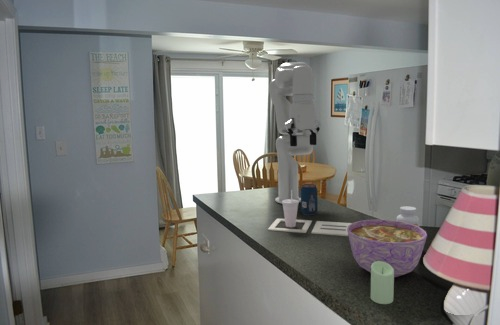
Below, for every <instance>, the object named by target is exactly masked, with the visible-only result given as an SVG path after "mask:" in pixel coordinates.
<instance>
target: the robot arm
mask: <svg viewBox="0 0 500 325" xmlns="http://www.w3.org/2000/svg"><path fill="white" fill-rule="evenodd" d="M313 82H314V74H313V68H312V67H311V66H309V64H308V63H306V62H304V61H303V62H302V61H299V62H297V61H295V62H284V63H282V64H280V65H279V67H277V68H276V69H275V72H274V78H273V79H272V80H270V82H269V85H268V90H269V91H268V92H269V96H270V99H271V102H272V104H273V106H274V112H275V119H276V127H277V128H276V129H277V131H278V133H279V134H280V136H278V137H277V138H276V139H275V149H276V155H277V156H276V157H277V178H278V180H277V184H278V185H277V188H278V196H277V197H275V198H274V199H275V202H276V203H278V204H280V205H281V204H282V201H283V200H286V199H291V190H292V199H295V200H298V201H299V203H300V204H301V196H300V197H299V163H298V162H297V161H296V159H295V158H294V157H293V156H306V155H310V154H312V153H313V151H314V146H316V145H317V135H318V134H319V131H320V129H321V126H322V122H321V121H319V120H317V115H316V114H317V113H316V108H315V103H314V101H315V97H314V88H313V87H314V83H313ZM285 96H287V97H288V96H289V97H290V96H292V103H291V101H289V100H288V99H287V98H286V97H285ZM281 134H282V135H281ZM282 205H283V204H282Z"/></svg>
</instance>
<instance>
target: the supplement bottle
mask: <svg viewBox="0 0 500 325" xmlns="http://www.w3.org/2000/svg"><path fill="white" fill-rule="evenodd" d="M399 212H400V214H398V215H397V216H396V220H395V221H399V222H404V223H409V224H412V225H415V226H418V227H420V218H419V217H418V216H417V215H416V214H417V208H416V207H415V206H407V205H405V206H400V207H399Z"/></svg>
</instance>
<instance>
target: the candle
mask: <svg viewBox="0 0 500 325" xmlns="http://www.w3.org/2000/svg"><path fill="white" fill-rule="evenodd" d="M394 283H395V278H394V269H393V267H392V266H391V265H389V264H388V263H386V262H382V261H376V262H374V263H372V265H371V273H370V299H371V300H372V302H374V303H376V304H380V305H390V304H392V303H393V302H394V293H395V292H394V291H395V290H394V288H395V284H394Z"/></svg>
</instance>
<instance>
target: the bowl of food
mask: <svg viewBox="0 0 500 325" xmlns="http://www.w3.org/2000/svg"><path fill="white" fill-rule="evenodd" d="M351 223H352V224H350V225H349V226H348V228H347V231H348V236H347V237H348V240H349V244H350V248H351V253H352V255H353V258H354V260H355V261H356V263H357V264H358V265H359V267H361V269H364V270H365V271H367V272H368V273H370V274H371V265H372V263H374V262H376V261H382V262H386V263H388V264H389V265H391V266H392V267H393V269H394V279H395V278H398V277H400V276H404V275H406V274H409V273H411V272H413V270H414V269H415V268H417V266H418V264H419V262H420V259H421V257H422V253H423V250H424V247H425V244H426V241H427V239H428V234H427V231H426V230H424V229H423V228H422V227H420V226H419V227H418V226H415V225H412V224H409V223H404V222H399V221H396V220H390V219H364V220H359V221H358V220H357V221H355V222H351Z"/></svg>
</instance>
